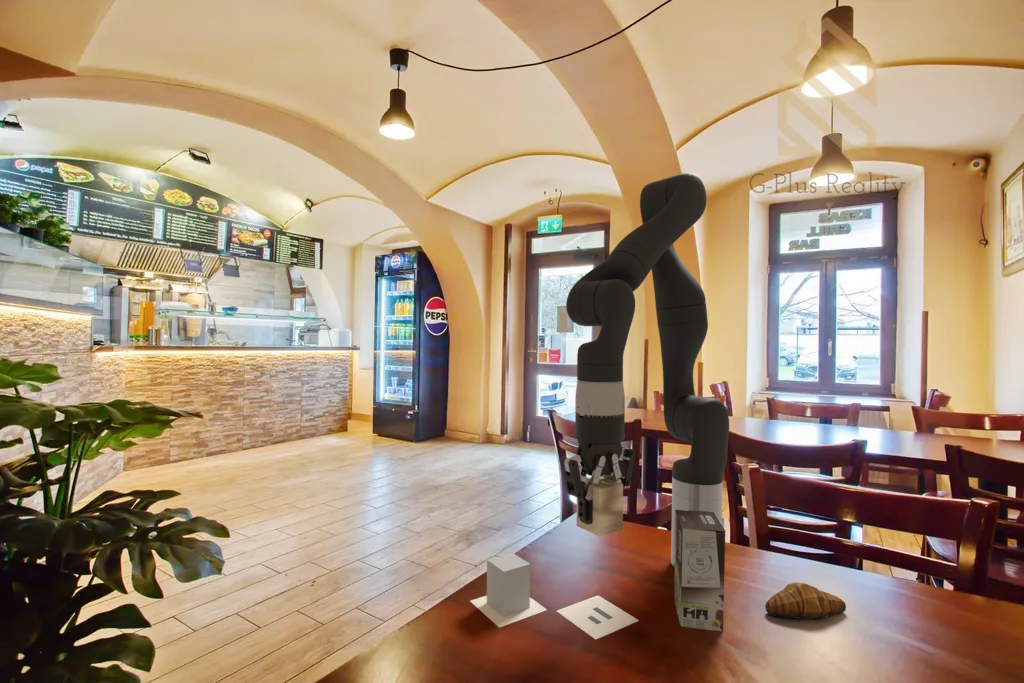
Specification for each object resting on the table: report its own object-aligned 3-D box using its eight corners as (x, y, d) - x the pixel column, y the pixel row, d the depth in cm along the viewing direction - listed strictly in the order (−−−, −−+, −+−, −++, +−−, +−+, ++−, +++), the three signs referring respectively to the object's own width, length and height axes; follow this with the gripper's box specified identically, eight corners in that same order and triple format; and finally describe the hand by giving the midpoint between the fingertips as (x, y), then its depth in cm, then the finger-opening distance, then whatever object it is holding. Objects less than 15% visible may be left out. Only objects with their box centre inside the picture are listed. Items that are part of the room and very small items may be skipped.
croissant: (828, 601, 87) (828, 572, 87) (859, 623, 80) (860, 592, 80) (754, 604, 85) (754, 575, 85) (779, 627, 79) (780, 595, 79)
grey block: (512, 594, 85) (512, 552, 85) (529, 607, 81) (530, 564, 81) (486, 602, 82) (487, 559, 82) (503, 617, 78) (503, 571, 78)
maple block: (599, 519, 82) (600, 476, 82) (622, 529, 78) (623, 483, 78) (576, 525, 79) (576, 481, 79) (599, 536, 75) (599, 489, 75)
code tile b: (515, 593, 88) (515, 586, 88) (547, 617, 80) (547, 609, 80) (469, 608, 83) (469, 600, 83) (499, 635, 75) (499, 627, 75)
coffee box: (725, 640, 75) (726, 531, 75) (679, 634, 76) (681, 527, 76) (713, 607, 84) (715, 510, 84) (672, 603, 85) (674, 507, 85)
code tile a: (597, 602, 85) (597, 595, 85) (638, 628, 78) (639, 620, 78) (556, 618, 80) (556, 610, 80) (595, 647, 73) (595, 639, 73)
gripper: (615, 403, 86) (614, 503, 86) (548, 410, 78) (548, 521, 78) (650, 408, 79) (649, 516, 80) (581, 417, 71) (581, 537, 72)
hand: (599, 518), depth 79 cm, fingers closed on maple block, 5 cm apart
